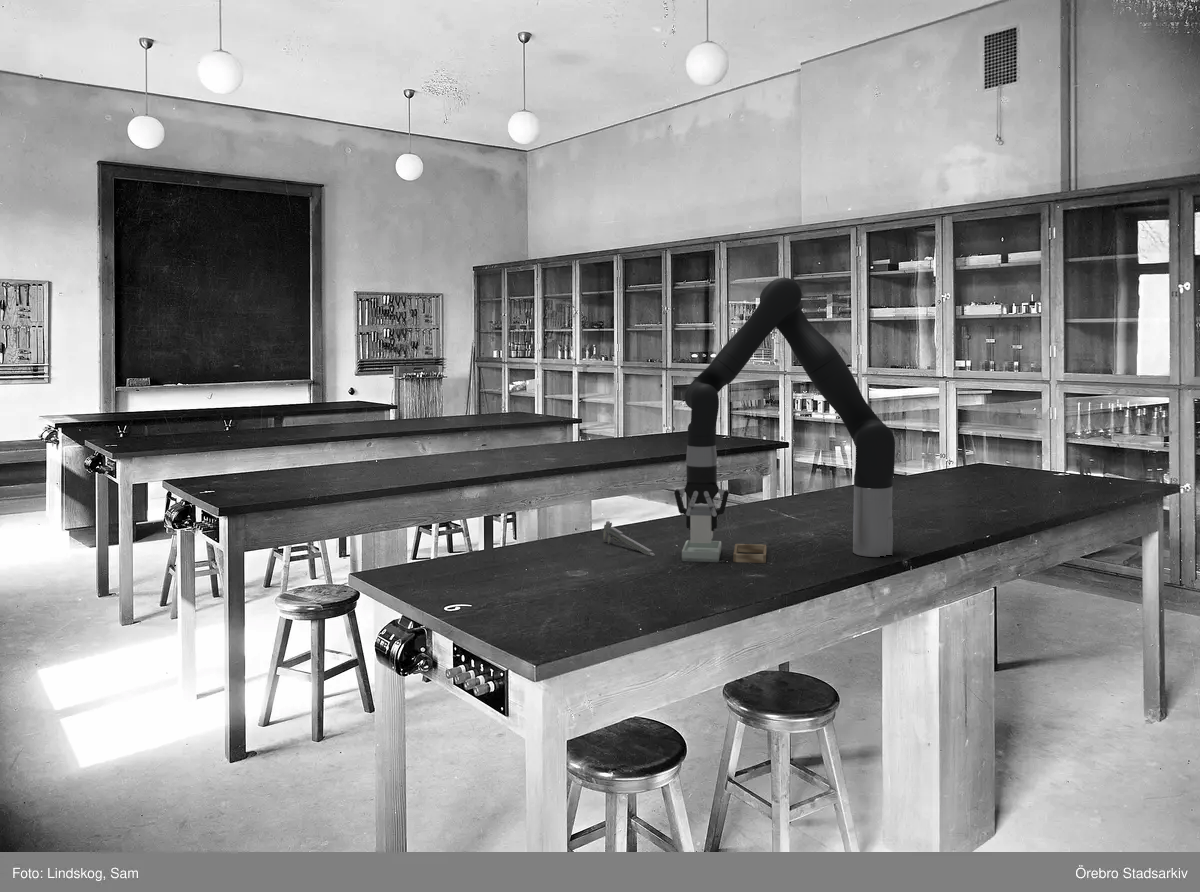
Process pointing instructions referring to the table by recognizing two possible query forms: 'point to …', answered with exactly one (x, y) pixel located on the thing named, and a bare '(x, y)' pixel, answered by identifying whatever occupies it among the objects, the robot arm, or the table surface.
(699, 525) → the gray rectangular box
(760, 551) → the holder
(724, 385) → the robot arm
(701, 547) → the tray
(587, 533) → the table surface
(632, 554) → the table surface
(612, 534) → the caliper
